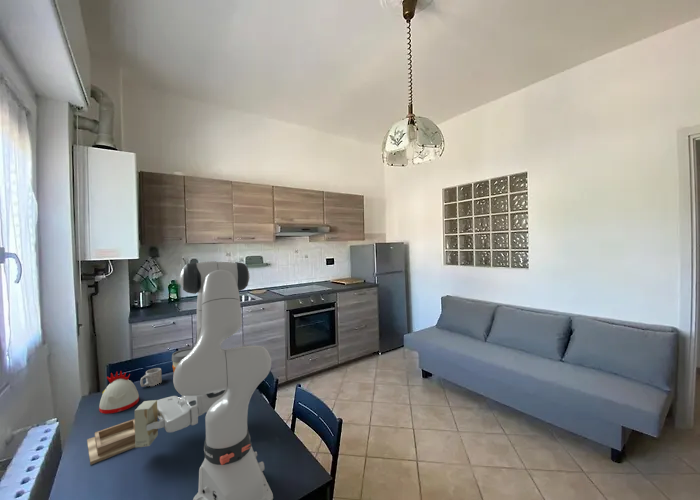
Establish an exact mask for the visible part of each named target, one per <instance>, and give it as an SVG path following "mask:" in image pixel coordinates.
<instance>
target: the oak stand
mask: <svg viewBox="0 0 700 500" xmlns="http://www.w3.org/2000/svg"><path fill="white" fill-rule="evenodd" d="M86 445H87V449H88V459H89V464H90V466H91V465H93V464H96V463H99V462H102V461H104V460H107V459H109V458H111V457H115V456H116V455H119V454H121V453H124V452H127V451H129V450H132V449H134V448H135V418H133V419H130V420H127V421H124V422H121V423H118V424H116V425H112V426H110V427H106V428H104V429H101V430H98V431H95V432H94V436H93V437H90V438H87V439H86Z"/></svg>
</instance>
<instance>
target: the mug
mask: <svg viewBox="0 0 700 500" xmlns="http://www.w3.org/2000/svg"><path fill="white" fill-rule="evenodd" d="M144 380H145V383H144ZM162 380H163V379H162V368H161V367H155V368H151V369H148V370H146V371H145V374H144V375H143V376H142V377H141V378H140V382H139V383H140V387H142V388H143V387H149V386H150V387H156V386H158V385H160V384H161V383H162ZM159 383H160V384H159ZM157 384H158V385H157ZM155 385H156V386H155Z"/></svg>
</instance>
